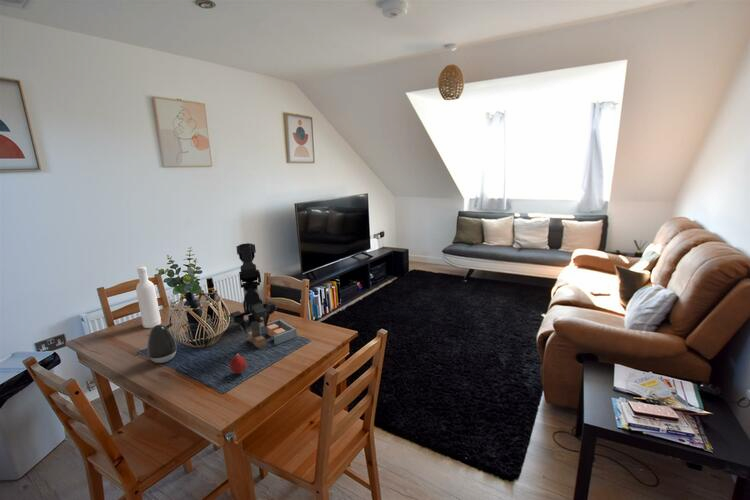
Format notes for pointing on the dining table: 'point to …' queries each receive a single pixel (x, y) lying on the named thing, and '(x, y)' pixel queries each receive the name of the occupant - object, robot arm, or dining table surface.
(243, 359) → the onion
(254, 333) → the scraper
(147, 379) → the dining table surface
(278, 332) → the block
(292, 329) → the box
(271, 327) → the block
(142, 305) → the bottle
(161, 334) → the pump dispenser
